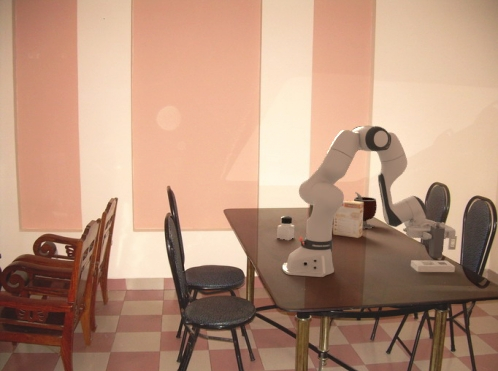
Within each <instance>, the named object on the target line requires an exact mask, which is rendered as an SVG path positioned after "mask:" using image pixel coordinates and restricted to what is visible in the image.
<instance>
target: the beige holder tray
mask: <svg viewBox="0 0 498 371" xmlns="http://www.w3.org/2000/svg"><path fill="white" fill-rule="evenodd" d="M410 267H411V268H412V269H413V270H415V271H416V272H417V273H455V270H456V266H455V265H454V264H452V263H450V262H449V261H448V260H410Z"/></svg>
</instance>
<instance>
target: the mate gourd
mask: <svg viewBox="0 0 498 371" xmlns="http://www.w3.org/2000/svg"><path fill="white" fill-rule="evenodd" d="M355 195H356V196H355V197H354V199H353V201H359V202H364V205H363V225H362V229H365V228H368V229H373V228H372V227H375V225H374V224H372V223H368V222H367V221H369V220H372V219H373V218H374V217H376V213H377V208H378V207H377V199H376V198H374V197H369V196H362V195H361V194H360V193H358V192H357V191H355Z"/></svg>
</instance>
